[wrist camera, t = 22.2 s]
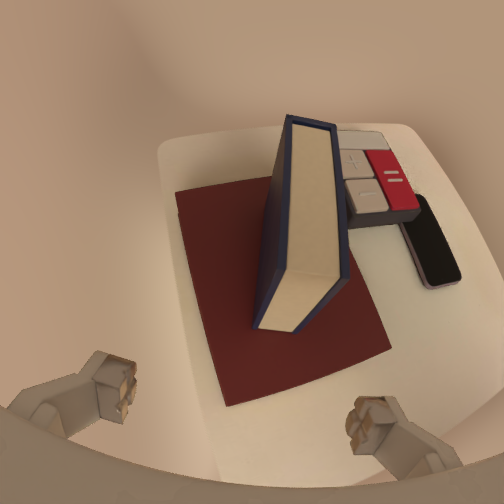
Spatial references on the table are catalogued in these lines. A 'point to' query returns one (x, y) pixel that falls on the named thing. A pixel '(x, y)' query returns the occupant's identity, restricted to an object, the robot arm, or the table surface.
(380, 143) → the calculator
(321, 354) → the encyclopedia
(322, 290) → the hardcover book
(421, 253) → the smartphone
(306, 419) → the table surface
